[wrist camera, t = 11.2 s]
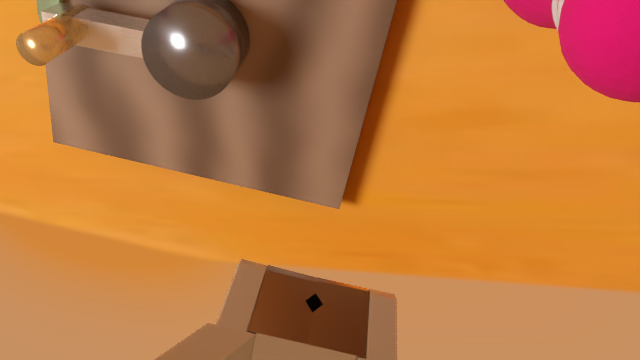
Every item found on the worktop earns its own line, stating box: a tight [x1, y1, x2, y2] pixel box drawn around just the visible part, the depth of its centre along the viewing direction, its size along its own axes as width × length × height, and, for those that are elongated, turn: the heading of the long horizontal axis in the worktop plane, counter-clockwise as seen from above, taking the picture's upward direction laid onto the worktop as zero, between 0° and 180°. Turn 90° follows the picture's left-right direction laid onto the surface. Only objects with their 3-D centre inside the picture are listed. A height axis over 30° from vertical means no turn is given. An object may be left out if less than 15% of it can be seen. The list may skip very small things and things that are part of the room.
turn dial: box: [16, 0, 250, 100], centre depth 33 cm, size 12×6×7 cm, turn 81°
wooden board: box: [37, 0, 397, 209], centre depth 37 cm, size 24×24×2 cm
